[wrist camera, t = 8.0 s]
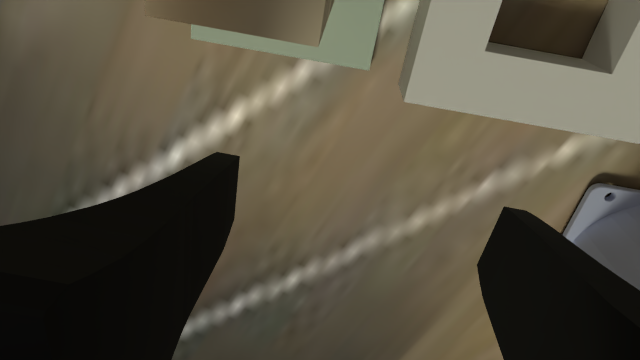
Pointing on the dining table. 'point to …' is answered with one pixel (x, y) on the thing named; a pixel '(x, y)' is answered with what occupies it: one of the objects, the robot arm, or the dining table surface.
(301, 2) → the plug
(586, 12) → the dining table surface
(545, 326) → the robot arm
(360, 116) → the dining table surface
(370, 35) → the mat
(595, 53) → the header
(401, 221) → the dining table surface
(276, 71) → the dining table surface
